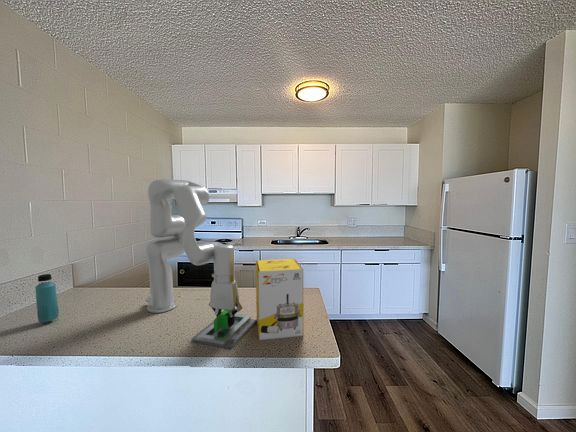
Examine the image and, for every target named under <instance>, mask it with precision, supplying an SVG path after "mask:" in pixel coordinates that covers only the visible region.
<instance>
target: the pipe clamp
mask: <svg viewBox="0 0 576 432" xmlns="http://www.w3.org/2000/svg"><path fill="white" fill-rule="evenodd" d="M221 312H222V313H221V314H220V315H219V316H218V317H215V318H214V319H213V321H214V332H218V331H219V330H220V328H221V329H228V317H229V311H228V310H222V311H221Z"/></svg>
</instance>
